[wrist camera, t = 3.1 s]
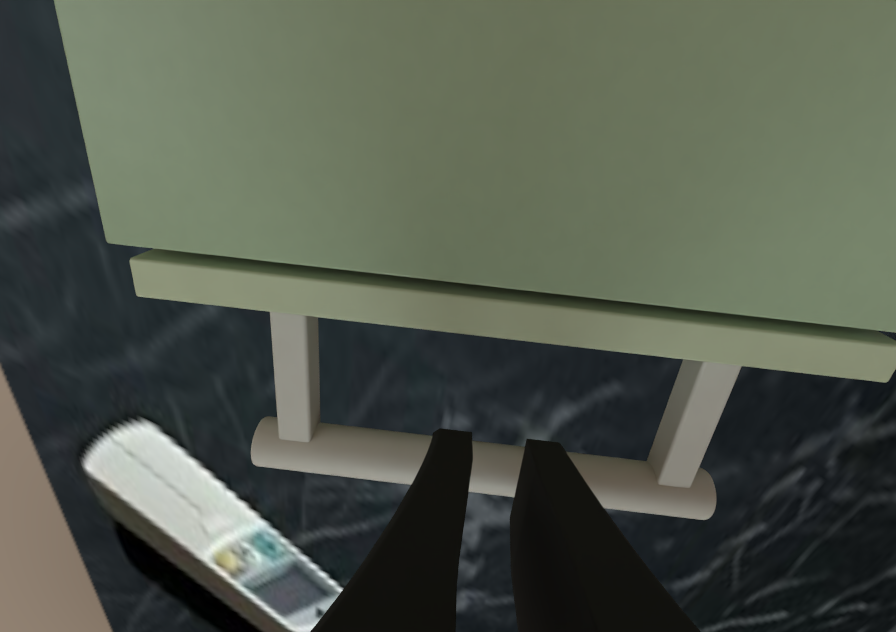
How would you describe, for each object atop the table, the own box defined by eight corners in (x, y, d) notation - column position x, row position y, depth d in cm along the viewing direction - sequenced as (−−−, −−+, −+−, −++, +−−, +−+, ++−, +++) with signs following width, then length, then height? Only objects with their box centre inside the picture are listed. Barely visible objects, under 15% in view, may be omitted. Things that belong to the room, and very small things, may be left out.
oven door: (653, 364, 18) (790, 552, 10) (302, 323, 19) (171, 476, 11) (696, 235, 16) (910, 347, 8) (297, 190, 16) (127, 258, 8)
